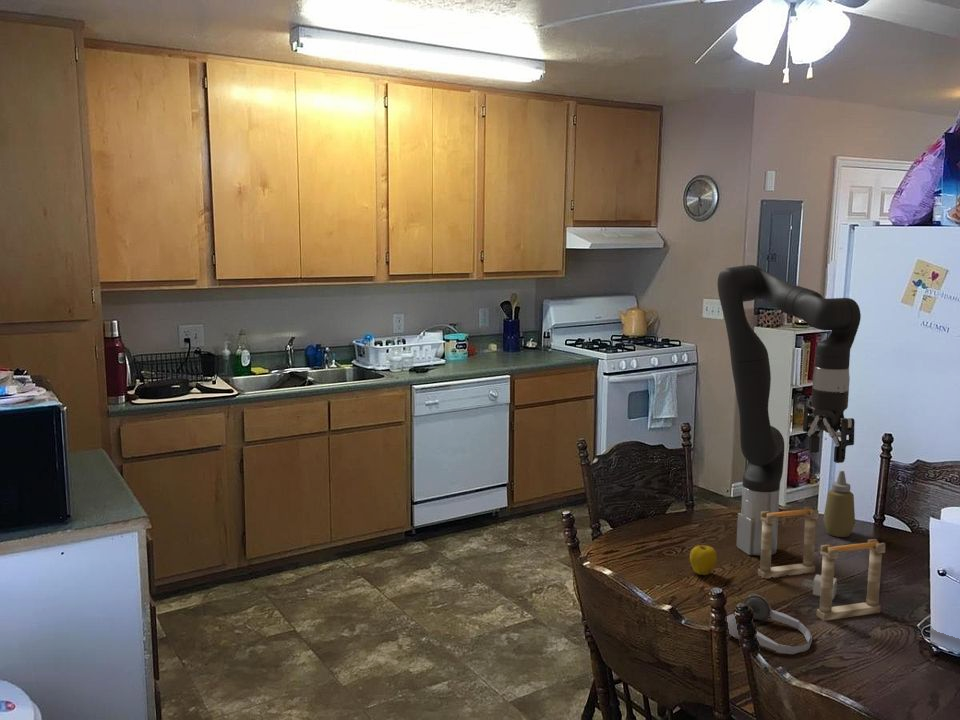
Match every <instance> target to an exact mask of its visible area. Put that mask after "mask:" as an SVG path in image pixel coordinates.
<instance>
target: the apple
mask: <svg viewBox="0 0 960 720" xmlns="http://www.w3.org/2000/svg"><path fill="white" fill-rule="evenodd" d="M717 554H718V553H717V550H715V549H714V548H713V547H712V546H710V545H704V544H703V545H702V544H698V545H696V546H694V547H693V548H692V549H691V551H690V552H689V562H690V564H691V567H692V570H693V572H695V573H696V574H697V575H703V576H707V575H709V574H710V573H712V571H713V570H714V569H716V565H717V560H718V555H717Z"/></svg>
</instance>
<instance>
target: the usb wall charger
mask: <svg viewBox="0 0 960 720" xmlns="http://www.w3.org/2000/svg"><path fill="white" fill-rule="evenodd" d="M837 579H838V578H836V577H834V578H833V594H832V600H834V599H835V597H836V594H837V583H838V582H837ZM801 584H802V586H805V587H807V588H812V596H816V597H820V591H821V574H819V573H818V574H816V575H815V576H814V578H813V579H812V580H810V579H805V578H804V579H803V582H801Z"/></svg>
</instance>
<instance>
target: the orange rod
mask: <svg viewBox="0 0 960 720" xmlns="http://www.w3.org/2000/svg"><path fill="white" fill-rule="evenodd" d="M878 543H879V541H877V542H868V541H867V542H861V543H853V544H845V545H835V546H830V547H828V548H827V551H828V549H838V553H841V552H849V551H856V550H857V551H858V550H865V549H867V548H874V547H876V544H878Z"/></svg>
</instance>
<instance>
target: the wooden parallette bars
mask: <svg viewBox="0 0 960 720" xmlns="http://www.w3.org/2000/svg"><path fill="white" fill-rule="evenodd" d="M803 509H813V506H804V507H803ZM767 513H769V511H763V512H761V516H760V520H762V539H761V556H760V563H759V564H760V565H759V568H757V575H758V576H759V577H760V576H761V577H760V578H761V579H763V578H765V579H772V578H771V577H773V578H780V576H781V577H787V576H786V575H789V576H795V575H803V573H804V574H809V573H811V574H812V573H815V572H816V566H815V564H814V560H815V559H814V557H815V539H816V524H817V522H816V521H817V519H819V509H813V510H810V514H804V515H803V516H804V517H805V518H804V533H803V534H804V536H803V550H802V552H803V553H802V554H803V555H802V563H796V564H795V563H793V564H787V565H780V566H779V565H778V566H771V565H772V555H771V550H772V530H773V523H775V515H774V514H772V515H767V516H766V514H767ZM868 542H878V539H876V538H871V539H867V543H868ZM828 547H831V545H830V544H821V545H820V552H819V554H820V555H821V556H822V561H821V574H820V575H821V591H820V596H819V608H816V617H818V618H820V619H821V620H822V621H830V620H838V619H839V620H840V619H845V618H851V617H858V616H859V617H860V616H866V615H872V614H880V613H881V611H882V610H881V607H882V606H881V605H880V604H879V599H880V586H881V585H880V584H881V572H882V558H883V557H882V556H883V554H884V553H886V543H885V542H878V544H876V547H874V548H866V549H868V550H869V559H868V570H867V571H868V572H867V587H866V599H865V601H863V602H860V603H859V602H857V603H851V604H844V605H836V606H833V599H832V594H833V578H835V577H834V575H835V560H836V559H838V558H839V557H838V556H839V552H838V549H828V551H827V548H828Z"/></svg>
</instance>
